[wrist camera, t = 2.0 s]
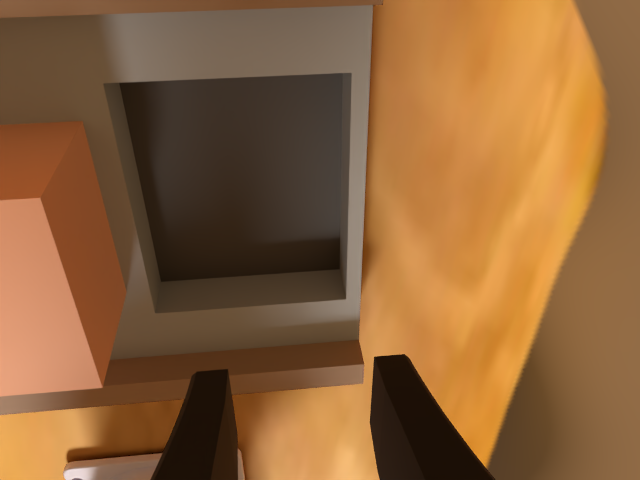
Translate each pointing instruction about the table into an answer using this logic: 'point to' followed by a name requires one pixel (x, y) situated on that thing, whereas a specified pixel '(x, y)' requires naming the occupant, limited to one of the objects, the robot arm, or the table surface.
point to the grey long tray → (211, 180)
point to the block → (54, 263)
